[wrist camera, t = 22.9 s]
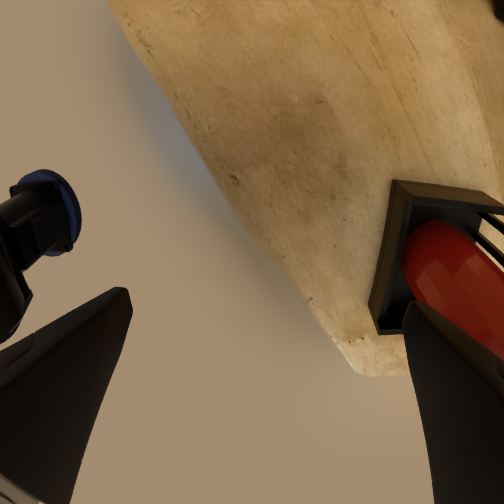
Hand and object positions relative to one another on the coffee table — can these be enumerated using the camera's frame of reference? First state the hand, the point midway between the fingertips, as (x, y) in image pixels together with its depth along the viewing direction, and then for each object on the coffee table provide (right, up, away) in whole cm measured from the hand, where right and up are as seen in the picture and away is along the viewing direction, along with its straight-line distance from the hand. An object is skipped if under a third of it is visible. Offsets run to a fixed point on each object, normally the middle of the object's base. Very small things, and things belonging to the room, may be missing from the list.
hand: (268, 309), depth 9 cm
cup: (+14, +1, +12) cm, 18 cm away
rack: (+14, +2, +13) cm, 19 cm away
